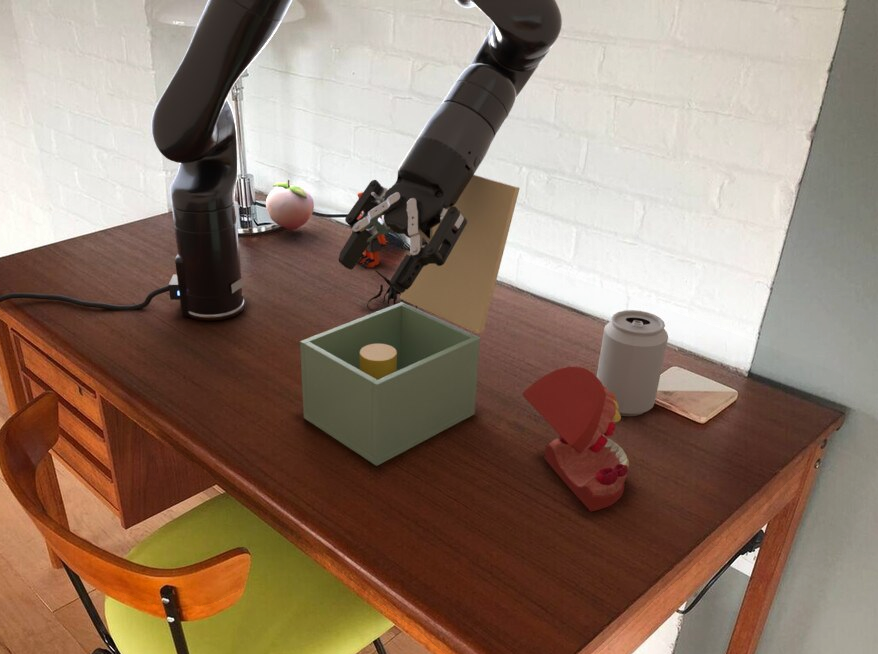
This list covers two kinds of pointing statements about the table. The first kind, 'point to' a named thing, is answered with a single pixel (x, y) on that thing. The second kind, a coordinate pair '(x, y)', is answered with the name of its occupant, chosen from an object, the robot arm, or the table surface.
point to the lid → (469, 258)
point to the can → (632, 359)
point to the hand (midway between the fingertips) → (369, 277)
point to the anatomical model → (582, 434)
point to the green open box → (389, 381)
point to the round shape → (378, 360)
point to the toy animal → (371, 247)
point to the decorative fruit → (289, 205)
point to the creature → (390, 290)
